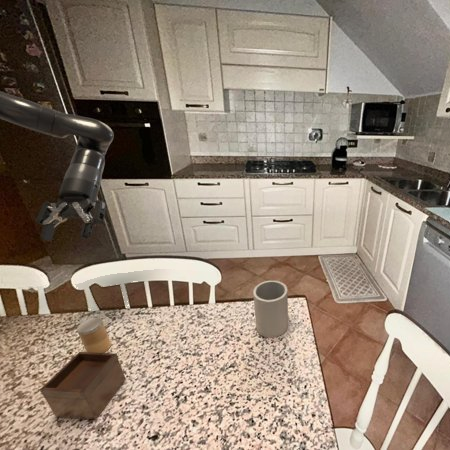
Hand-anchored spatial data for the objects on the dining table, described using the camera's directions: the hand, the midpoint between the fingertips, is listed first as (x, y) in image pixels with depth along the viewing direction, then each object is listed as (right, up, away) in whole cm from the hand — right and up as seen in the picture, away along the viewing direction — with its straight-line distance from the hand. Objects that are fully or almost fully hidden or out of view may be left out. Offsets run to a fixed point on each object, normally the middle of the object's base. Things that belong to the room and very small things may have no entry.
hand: (65, 239), depth 61 cm
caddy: (+15, -33, -9) cm, 37 cm away
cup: (+51, -25, +9) cm, 57 cm away
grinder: (+7, -28, +2) cm, 29 cm away
